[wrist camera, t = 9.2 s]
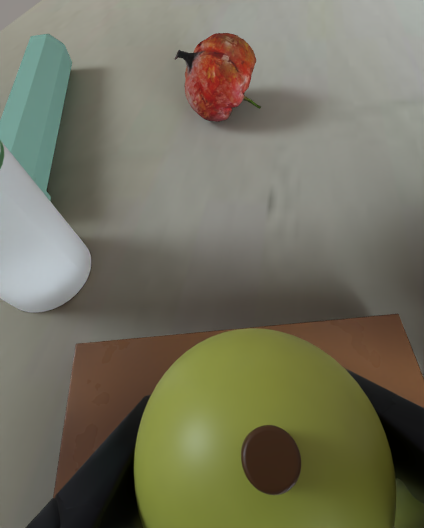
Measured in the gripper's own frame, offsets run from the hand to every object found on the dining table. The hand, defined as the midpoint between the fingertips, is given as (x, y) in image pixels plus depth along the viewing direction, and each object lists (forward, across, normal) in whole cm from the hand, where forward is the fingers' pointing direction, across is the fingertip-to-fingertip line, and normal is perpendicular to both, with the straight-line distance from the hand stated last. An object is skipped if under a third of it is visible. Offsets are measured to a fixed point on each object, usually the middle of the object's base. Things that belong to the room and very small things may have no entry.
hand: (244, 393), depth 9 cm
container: (+30, +16, -14) cm, 37 cm away
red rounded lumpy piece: (+29, -3, -13) cm, 32 cm away
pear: (+4, 0, +5) cm, 6 cm away
